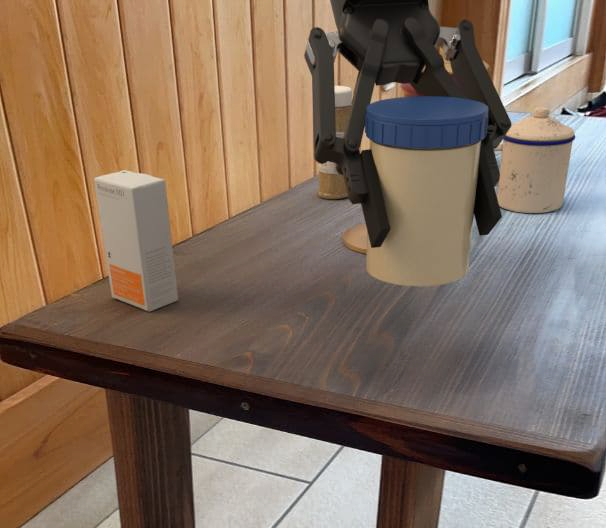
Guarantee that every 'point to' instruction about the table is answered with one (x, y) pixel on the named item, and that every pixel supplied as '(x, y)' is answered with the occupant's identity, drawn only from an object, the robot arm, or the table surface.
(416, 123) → the lid
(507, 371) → the table surface
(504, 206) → the teacup with lid
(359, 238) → the coaster
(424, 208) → the jar
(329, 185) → the brown spice bottle
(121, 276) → the cosmetic box
